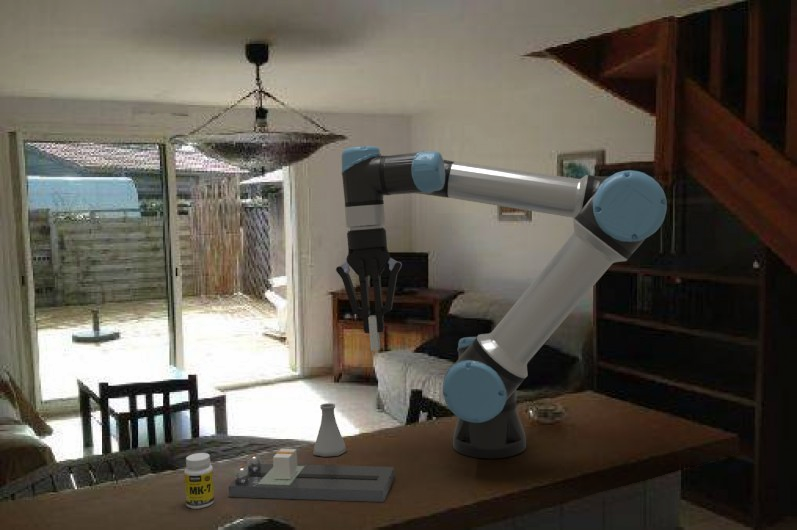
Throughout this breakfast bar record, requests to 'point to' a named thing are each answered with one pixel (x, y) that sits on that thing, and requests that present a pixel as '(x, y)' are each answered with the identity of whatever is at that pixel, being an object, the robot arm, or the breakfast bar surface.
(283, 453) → the fader
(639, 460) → the breakfast bar surface
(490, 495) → the breakfast bar surface
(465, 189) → the robot arm
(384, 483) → the console
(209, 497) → the supplement bottle
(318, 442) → the flask
